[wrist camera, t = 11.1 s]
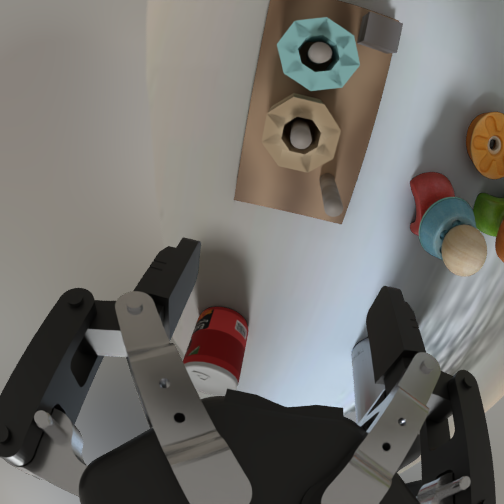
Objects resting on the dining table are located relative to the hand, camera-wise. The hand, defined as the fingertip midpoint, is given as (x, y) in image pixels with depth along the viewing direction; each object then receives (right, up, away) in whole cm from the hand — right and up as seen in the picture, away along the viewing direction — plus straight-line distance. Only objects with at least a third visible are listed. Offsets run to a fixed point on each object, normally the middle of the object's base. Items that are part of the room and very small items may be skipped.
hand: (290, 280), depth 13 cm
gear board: (+4, +16, +14) cm, 21 cm away
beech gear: (+3, +13, +14) cm, 20 cm away
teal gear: (+4, +19, +10) cm, 22 cm away
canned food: (-6, -10, +33) cm, 35 cm away
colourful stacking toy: (+24, +10, +16) cm, 30 cm away
